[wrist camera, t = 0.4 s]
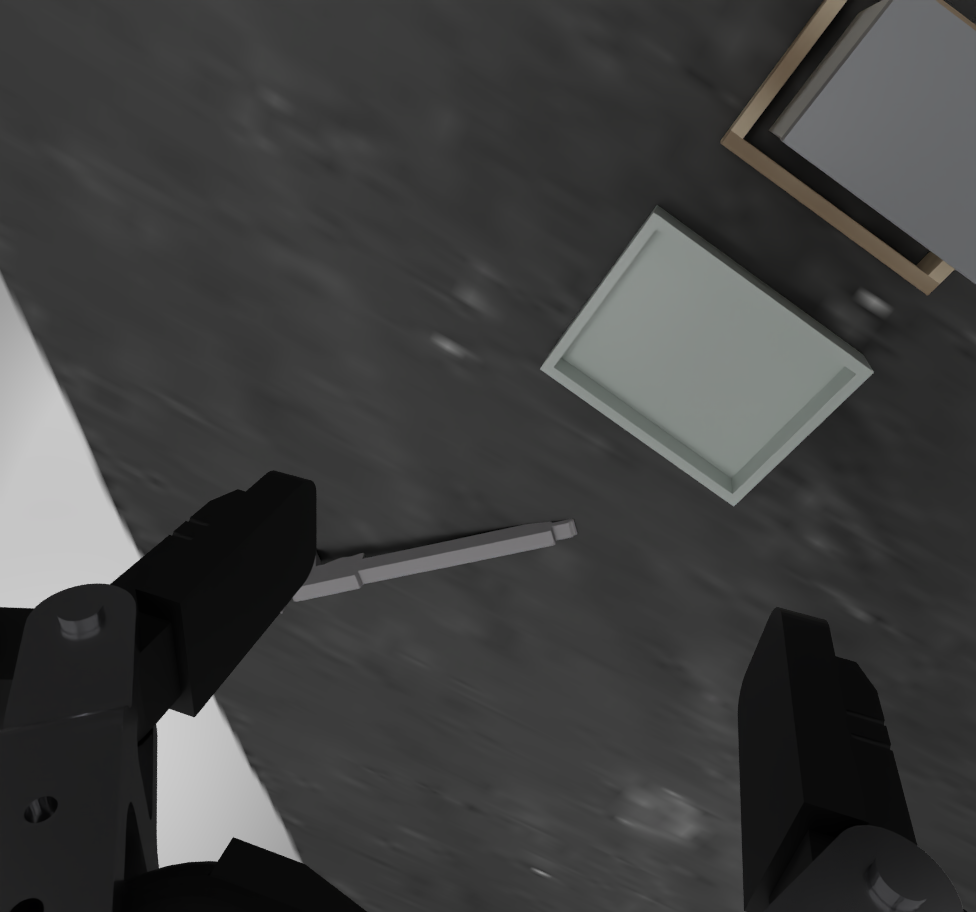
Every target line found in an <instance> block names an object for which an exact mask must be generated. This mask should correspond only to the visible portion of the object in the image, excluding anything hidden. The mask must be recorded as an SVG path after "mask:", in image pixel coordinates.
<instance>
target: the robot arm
mask: <svg viewBox="0 0 976 912" xmlns="http://www.w3.org/2000/svg"><path fill="white" fill-rule="evenodd" d="M315 556H316V487H315V484H314V482H313V481H311V480H308V479H304V478H300V477H296V476H293V475H289V474H285V473H281V472H278V471H270V472H268V473H267V474H265V475H264V476H263V477H262V478H261V479H260V480H259V481H257V482H256V483H255V484H254V485H253V486H252V487H251V488H249V489H248V490H247V491H246V492H245V491H242V490H238V489H237V490H235V491H233V492H230V493H228V494H226V495H223V496H221V497H219V498H216V499H214V500H211V501H210V502H208V503H207V504H206V505H205V506H204V507H202V508H201V509H200V510H199V511H198V512H196V513H195V514H194V515H193V516H192V517H190V520H189V522H187V521H186V522H184V523H183V524H182V525H181V526H180V527H178V528H177V529H176V530H175V531H174V533H173V535H172V536H171V535H169V536H168V537H166V538H165V539H164V540H163V541H162V542H160V543H159V544H158V545H157V546H156V547H154V548H153V549H152V550H151V551H150V552H148V553H147V554H146V555H145V556H144V557H142V558H141V559H140V560H139V561H138V562H136V563H135V564H134V565H133V566H132V567H130V569H128V570H127V571H126V572H125V573H123V574H122V575H121V576H120V577H118V578H117V579H116V580H115V581H114V582H113V583H111V584H110V585H109V584H86V585H80V586H75V587H72V588H68V589H66V590H63V591H60V592H58V593H56V594H54V595H52V596H50V597H49V598H47V599H46V600H44V601H42V602H41V603H40V604H39V605H38V606H36V608H34V609H31V608H6V607H4V608H3V607H0V912H367V911H365V910H364V909H363V908H361V907H360V906H359V905H357V904H356V903H355V902H354V901H352V900H351V899H350V898H348V897H347V896H346V895H344V894H343V893H342V892H340V891H339V890H338V889H337V888H335V887H334V886H333V885H331V884H330V883H329V882H327V881H326V880H325V879H324V878H322V877H321V876H320V875H318V874H317V873H316V872H314V871H313V870H312V869H310V868H309V867H308V866H307V865H305V864H303V863H300V862H297V861H295V860H292V859H289V858H287V857H284V856H281V855H279V854H276V853H273V852H271V851H268V850H266V849H263V848H260V847H258V846H255V845H252V844H250V843H247V842H244V841H242V840H239V839H236V838H232V840H231V842H230V843H229V845H228V846H227V848H226V849H225V851H224V853H223V854H222V856H221V857H220V859H219V860H218V862H213V861H205V862H188V863H182V864H176V865H171V866H166V867H163V868H159V865H158V854H157V834H156V833H157V830H156V826H157V825H156V824H157V728H156V723H157V722H158V721H159V720H160V718H161V717H162V716H163V715H164V714H165V713H166V711H167V710H168V709H172V710H175V711H178V712H180V713H184V714H186V715H190V716H192V717H195V716H196V715H197V714H198V713H199V711H200V710H201V709H202V708H203V706H204V705H205V704H206V703H207V702H208V700H209V699H210V698H211V697H212V695H213V694H214V693H215V692H216V691H217V689H218V688H219V687H220V686H221V684H222V683H223V682H224V681H225V680H226V678H227V677H228V676H229V675H230V673H231V672H232V671H233V670H234V669H235V667H236V666H237V665H238V664H239V662H240V661H241V660H242V659H243V658H244V656H245V655H246V654H247V653H248V651H249V650H250V649H251V648H252V647H253V645H254V644H255V643H256V642H257V640H258V639H259V638H260V637H261V636H262V634H263V633H264V632H265V631H266V629H267V628H268V627H269V626H270V625H271V623H272V622H273V621H274V620H275V618H276V617H277V616H278V615H279V614H280V612H281V611H282V610H283V609H284V607H285V606H286V605H287V604H288V603H289V601H290V600H291V599H292V598H293V596H294V595H295V594H296V593H297V592H298V590H299V589H300V588H301V587H302V585H303V584H304V583H305V581H306V580H307V578H308V576H309V574H310V572H311V570H312V567H313V564H314V561H315ZM884 721H885V720H884V716H883V712H882V708H881V705H880V701H879V697H878V693H877V690H876V689H875V688H874V686H873V685H872V683H871V682H870V681H869V679H868V678H867V677H866V675H865V674H864V672H863V671H862V670H861V668H860V667H859V665H858V664H857V663H856V662H854V661H850V660H847V659H843V658H840V657H836V656H835V652H834V648H833V643H832V638H831V633H830V628H829V624H828V622H827V621H826V620H824V619H820V618H816V617H812V616H809V615H805V614H801V613H798V612H794V611H790V610H786V609H783V608H779V607H776V608H775V609H774V610H773V611H772V613H771V615H770V617H769V619H768V622H767V624H766V626H765V629H764V631H763V633H762V636H761V638H760V640H759V643H758V645H757V647H756V650H755V652H754V655H753V657H752V659H751V662H750V664H749V666H748V669H747V671H746V674H745V676H744V679H743V683H742V686H741V691H740V696H739V703H738V735H739V766H740V797H741V828H742V859H743V890H744V911H747V912H967V911H966V910H964V909H963V907H962V903H961V900H960V898H959V895H958V893H957V891H956V889H955V887H954V885H953V884H952V882H951V880H950V879H949V877H948V876H947V875H946V873H945V872H944V871H943V869H942V868H941V867H940V866H939V865H938V864H937V863H936V862H935V861H934V859H932V858H931V857H930V856H929V855H928V854H927V853H926V852H925V851H924V850H922V849H921V848H920V847H918V846H917V843H916V839H915V835H914V831H913V827H912V824H911V820H910V816H909V812H908V808H907V804H906V801H905V797H904V793H903V789H902V785H901V781H900V777H899V774H898V770H897V766H896V762H895V758H894V754H893V751H892V750H890V745H891V743H890V739H889V735H888V731H887V728H886V726H884Z"/></svg>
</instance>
